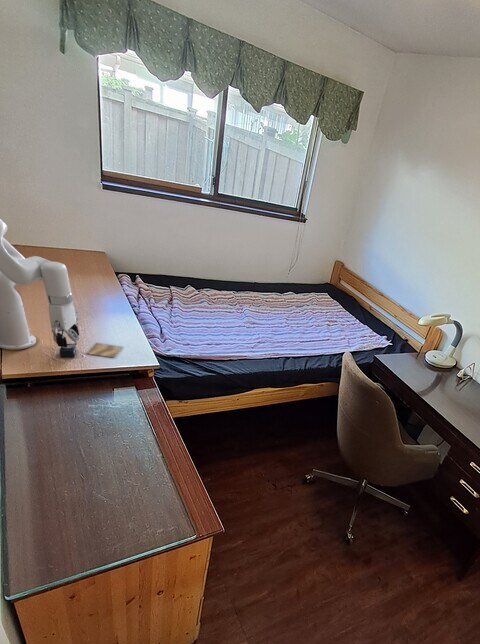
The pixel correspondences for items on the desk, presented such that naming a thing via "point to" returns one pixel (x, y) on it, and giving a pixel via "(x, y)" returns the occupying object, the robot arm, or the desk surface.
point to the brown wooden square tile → (104, 350)
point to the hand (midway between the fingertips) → (68, 340)
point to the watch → (69, 345)
